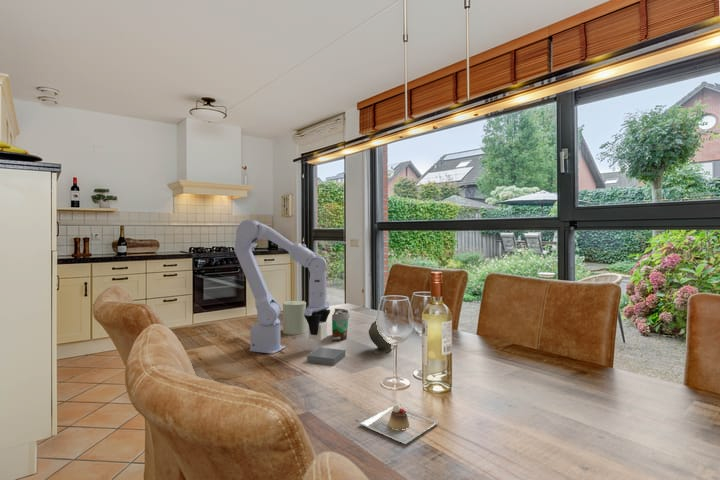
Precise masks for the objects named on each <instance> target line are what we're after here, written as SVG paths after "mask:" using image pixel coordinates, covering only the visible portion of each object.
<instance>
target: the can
mask: <svg viewBox="0 0 720 480" xmlns="http://www.w3.org/2000/svg"><path fill="white" fill-rule="evenodd" d="M305 309H307V302H306V301H305V300H304V301H303V300H287V301H284V302H282V333H283V334H284V335H290V336H294V335H295V336H296V335H302V334H305V333H307V320H306V318H305V317H304V314H305Z"/></svg>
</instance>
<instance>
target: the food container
mask: <svg viewBox="0 0 720 480" xmlns="http://www.w3.org/2000/svg"><path fill="white" fill-rule="evenodd" d="M350 318H351V314H350V312H349V310H348V309H344V308H334V311H333V314H331V326H332V327H331V332H332V333H331V334H332V335H331V338H332V341H331V343H332V342H334V343H336V342H342V341H346V340H347V339H348V338H347V337H348V325H349V324H348V323H349V319H350Z"/></svg>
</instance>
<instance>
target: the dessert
mask: <svg viewBox="0 0 720 480" xmlns="http://www.w3.org/2000/svg"><path fill="white" fill-rule="evenodd" d="M399 405H400V406H399ZM399 405H398V404H397V405H396V404H395V405H394V404H393V405H391V406H389V407H386V408H385V409H383V410H381V411H379V412H378V413H375V414H373V415H372V416H369V417H367V418H365V419H364V420H361V421H359V422H358V425H360V426H362V427H365V428H367V429H369V430H371V431H373V432H375V433H378V434H381V435H382V434H383V436H385V437H387V438H389V439H391V438H392V439H391V440H394V441H396V442H399V443H400V442H401V443H400V444H403V445H407V444H409V443H410V442H411V441H413V440H414V439H416V438H418V437H419V436H420V435H422V434H424V433H425V432H427V431H428V430H429V429H431V428H433V427H434V426H436V425H438V424H439V421H438V420H435V419H432V418H429V417H427V416H423V415H422V414H418V413H417V412H413V411H410V410H407V409H406V408H403V407H401V406H402V404H401V403H400V404H399ZM392 410H393V411H392ZM390 411H392V413H390V417H389V420H388V423H387V427H388V426H389V427H391V428H393V429H398V430H402V429H406V428H408V427H409V425H410V422H409V419H408V417H409V416H407V414H410V415H412V416H415V417H418V418H422V419H424V420H428V421H430V422H434V424H432V425H431V426H429V425H428V426H429V427H428V426H426V427H427V428H426V427H425V428H426V429H425V428H423V429H424V430H423V429H422V430H423V431H422V430H420V431H421V432H420V431H419V432H420V433H419V432H417V433H418V434H417V433H415V434H414V435H415V436H414V435H412V436H413V437H412V436H411V437H412V438H411V437H409V438H410V439H409V438H408V439H409V440H408V439H407V441H406V440H405V441H406V442H405V441H403V440H400V439H398V438H395V437H393V436H391V435H389V434H387V433H384V432H382V431H380V430H378V431H377V429H375V428H373V427H370V426H371V425H372V424H373V422H374V423H375V422H377V421H379V420H380V419H379V418H381V417H382V416H384V415H385V414H387V413H389V412H390ZM406 413H407V414H406ZM384 417H385V416H384ZM378 419H379V420H378ZM381 419H382V418H381ZM389 427H388V428H389ZM391 428H390V429H391ZM409 428H410V427H409ZM409 428H408V429H409ZM393 429H392V430H393ZM402 441H403V442H402Z"/></svg>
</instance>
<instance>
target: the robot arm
mask: <svg viewBox="0 0 720 480" xmlns="http://www.w3.org/2000/svg"><path fill="white" fill-rule="evenodd" d="M259 239H261V240H268V241H270V242H272V243H273V244H275V245H277V246H279V247H280V248H282V249H283V250H285V251H286V252H288V256H289V258H290V259H292V260H293V261H295V262H296V263H298V264H299V265H300V266H302V267H304V268H308V271H309V278H308V279H309V280H308V282H309V283H308V284H309V285H308V287H309V288H308V292H309V293H308V306H306V309H305V314H304V317H305V318H306V323H307V325H308V330H309V329H310V333H311V335H317V334H318V327H319V321H320V322H327V320H328V317H329V315H330V313H331V309H330V302H329V301H327V272H326V270H327V266H328V264H327V261H326V259H325V258H324V257H323V256H322V255H319V253H317V252H313V251H312V250H311V249H309V248H308V247H307V245H306V244H305V243H300V242H298V243H294V242H292V241H291V240H289V239H287V238H286V237H285V236H284V235H282V234H280V233H279V232H278V231H277V230H275V229H273V228H272V227H270V226H268V225H267V224H264V223H262V222H260V221H259V220H257V219H253V220H252V219H245V220H242V221H241V222H240V223H239V224H238V226H237V228H236V230H235V241H234V242H235V243H234V254H235V255H236V258H237V260H238V262H239V264H240V267H241V269H242V272H243V274H244V276H245V278H246V280H247V283H248V286H249V288H250V290H251V293H252V295H253V297H254V300H255V301H254V302H255V305H254V306H255V309H256V312H257V313H256V319H257V320H258V321H257V322H254V323H253V324H252V326H251V328H250V334H249V335H250V338H249V339H250V342H249V343H250V349H248V350H249V352H254V353H262V354H271V355H272V354H276V353H278V352H280V351H281V350H283V349H286V345H281V320H280V319H279V316H280V315H281V312H282V308H281V305H280V304H279V303H278V301H277V302H276V300H275V298H274V296H273V295H272V293H270V291H269V289H268V287H267V284H266V281H265V279H264V277H263V274H262V271H261V270H260V267H259V265H258V262H257V260H256V258H255V256H254V252H253V251H252V250H253V248H254V245H255V243H256V242H257V240H259Z"/></svg>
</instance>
